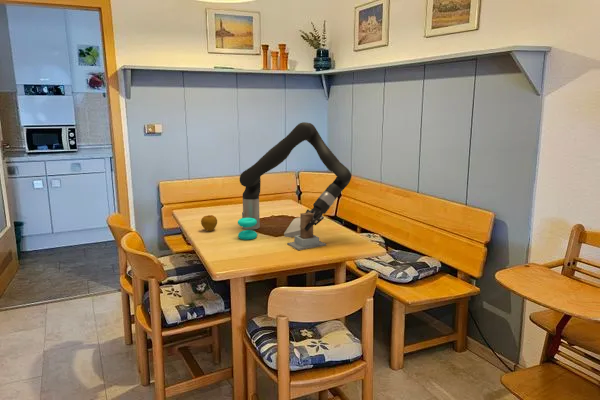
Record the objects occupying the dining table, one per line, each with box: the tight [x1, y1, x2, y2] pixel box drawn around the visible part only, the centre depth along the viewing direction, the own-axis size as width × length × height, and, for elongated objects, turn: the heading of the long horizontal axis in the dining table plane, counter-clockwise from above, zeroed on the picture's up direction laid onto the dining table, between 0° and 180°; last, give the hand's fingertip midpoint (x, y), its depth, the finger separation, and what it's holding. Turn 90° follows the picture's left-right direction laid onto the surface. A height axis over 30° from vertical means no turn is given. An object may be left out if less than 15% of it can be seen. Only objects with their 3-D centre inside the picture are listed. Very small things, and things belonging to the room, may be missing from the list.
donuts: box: [237, 217, 258, 241], centre depth 240 cm, size 10×10×10 cm
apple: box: [200, 214, 218, 232], centre depth 254 cm, size 9×9×9 cm
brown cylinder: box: [300, 212, 314, 239], centre depth 227 cm, size 5×4×14 cm
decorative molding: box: [283, 217, 300, 238], centre depth 258 cm, size 34×5×10 cm
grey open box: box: [287, 234, 327, 251], centre depth 228 cm, size 16×11×4 cm
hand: (303, 228), depth 226 cm, fingers closed on brown cylinder, 4 cm apart
